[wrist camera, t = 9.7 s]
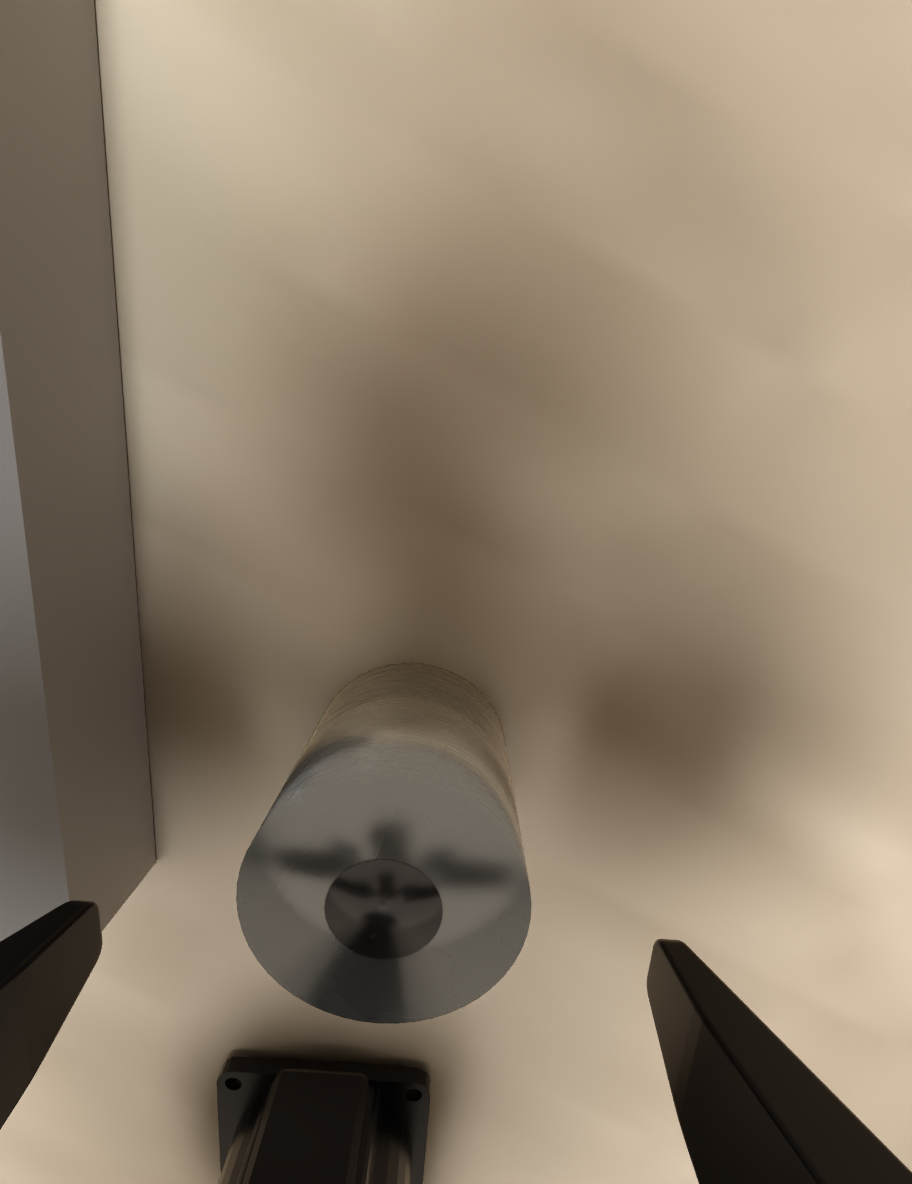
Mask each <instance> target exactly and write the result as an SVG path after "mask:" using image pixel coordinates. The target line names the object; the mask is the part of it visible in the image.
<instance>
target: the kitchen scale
mask: <svg viewBox="0 0 912 1184" xmlns="http://www.w3.org/2000/svg"><path fill="white" fill-rule="evenodd" d="M155 863H156V853H155V839H154V826H153V812H152V798H151V784H150V770H149V756H148V742H147V729H146V715H145V701H144V687H143V673H142V659H141V645H140V632H139V618H138V604H137V590H136V576H135V562H134V549H133V535H132V521H131V507H130V493H129V479H128V465H127V452H126V438H125V424H124V410H123V396H122V382H121V369H120V355H119V341H118V327H117V313H116V299H115V285H114V272H113V258H112V244H111V230H110V216H109V202H108V189H107V175H106V161H105V147H104V133H103V119H102V105H101V92H100V78H99V64H98V50H97V36H96V22H95V9H94V0H0V941H2V940H4V939H5V938H7V937H9V936H10V935H12V934H13V933H15V932H17V931H18V930H20V929H22V928H23V927H25V926H27V925H28V924H30V923H32V922H33V921H35V920H37V919H38V918H40V917H42V916H43V915H45V914H47V913H48V912H50V911H52V910H53V909H55V908H57V907H58V906H60V905H62V904H63V903H65V902H68V901H72V900H78V901H93V902H96V904H97V905H98V906H99V912H100V922H101V932H102V931H103V929H104V928H105V927H106V925H107V924H108V923H109V922H110V920H111V919H112V918H113V917H114V915H115V914H116V913H117V911H118V910H119V909H120V908H121V906H122V905H123V904H124V902H125V901H126V900H127V899H128V897H129V896H130V895H131V894H132V892H133V891H134V890H135V888H136V887H137V886H138V885H139V883H140V882H141V881H142V880H143V878H144V877H145V876H146V874H147V873H148V872H149V871H150V869H151V868H152V867H153V865H154V864H155Z"/></svg>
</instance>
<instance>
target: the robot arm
mask: <svg viewBox="0 0 912 1184" xmlns="http://www.w3.org/2000/svg"><path fill="white" fill-rule="evenodd" d="M101 949H102V932H101V922H100V912H99V906H98V905H97V904H96V902H93V901H78V900H72V901H68V902H65V903H63V904H62V905H60V906H58V907H57V908H55V909H53V910H52V911H50V912H48V913H47V914H45V915H43V916H42V917H40V918H38V919H37V920H35V921H33V922H32V923H30V924H28V925H27V926H25V927H23V928H22V929H20V930H18V931H17V932H15V933H13V934H12V935H10V936H9V937H7V938H5V939H4V940H2V941H0V1129H1V1128H2V1126H3V1125H4V1123H5V1121H6V1120H7V1118H8V1117H9V1115H10V1114H11V1112H12V1111H13V1109H14V1107H15V1106H16V1104H17V1103H18V1101H19V1100H20V1098H21V1096H22V1095H23V1093H24V1092H25V1090H26V1088H27V1087H28V1085H29V1084H30V1082H31V1080H32V1079H33V1077H34V1075H35V1073H36V1072H37V1070H38V1068H39V1066H40V1065H41V1063H42V1061H43V1059H44V1058H45V1056H46V1054H47V1052H48V1050H49V1048H50V1047H51V1045H52V1043H53V1041H54V1039H55V1037H56V1036H57V1034H58V1032H59V1030H60V1028H61V1027H62V1025H63V1023H64V1021H65V1019H66V1017H67V1016H68V1014H69V1012H70V1010H71V1008H72V1006H73V1005H74V1003H75V1001H76V999H77V997H78V995H79V994H80V992H81V990H82V988H83V986H84V984H85V983H86V981H87V979H88V977H89V975H90V973H91V972H92V970H93V968H94V966H95V964H96V962H97V960H98V958H99V955H100V953H101ZM647 991H648V997H649V1002H650V1006H651V1010H652V1014H653V1018H654V1022H655V1026H656V1030H657V1035H658V1039H659V1043H660V1047H661V1051H662V1055H663V1059H664V1064H665V1068H666V1072H667V1076H668V1080H669V1084H670V1088H671V1092H672V1097H673V1101H674V1104H675V1108H676V1112H677V1116H678V1120H679V1123H680V1126H681V1129H682V1133H683V1136H684V1139H685V1142H686V1146H687V1149H688V1152H689V1155H690V1158H691V1161H692V1164H693V1167H694V1170H695V1173H696V1176H697V1179H698V1182H699V1184H912V1172H911V1171H910V1170H909V1169H908V1168H907V1167H906V1166H905V1165H904V1164H903V1163H902V1162H901V1161H900V1160H899V1159H898V1158H897V1157H896V1156H895V1155H894V1154H893V1153H892V1152H891V1151H890V1150H889V1149H888V1148H887V1147H886V1146H885V1145H884V1144H883V1143H882V1142H881V1141H880V1140H879V1139H878V1138H877V1137H876V1136H875V1135H874V1134H873V1133H872V1132H871V1131H870V1130H869V1129H868V1128H867V1127H866V1126H865V1125H864V1124H863V1123H862V1121H861V1120H860V1119H859V1118H858V1117H857V1116H856V1115H855V1114H854V1113H853V1112H852V1111H851V1110H850V1109H849V1108H848V1107H847V1106H846V1105H845V1104H844V1103H843V1102H842V1101H841V1100H840V1099H839V1098H838V1097H837V1096H836V1095H835V1094H834V1093H833V1092H832V1091H831V1090H830V1089H829V1088H828V1087H827V1086H826V1085H825V1084H824V1083H823V1082H822V1081H821V1080H820V1079H819V1078H818V1077H817V1076H816V1075H815V1074H814V1073H813V1072H812V1071H811V1070H810V1069H809V1068H808V1067H807V1066H806V1065H805V1064H804V1063H803V1062H802V1061H801V1060H800V1059H799V1058H798V1057H797V1056H796V1055H795V1054H794V1053H793V1052H792V1051H791V1050H790V1049H789V1048H788V1047H787V1046H786V1045H785V1044H784V1043H783V1042H782V1041H781V1040H780V1039H779V1038H778V1037H777V1036H776V1035H775V1034H774V1033H773V1032H772V1031H771V1030H770V1029H769V1028H768V1027H767V1026H766V1025H765V1024H764V1023H763V1022H762V1021H761V1020H760V1019H759V1018H758V1017H757V1016H756V1015H755V1013H754V1012H753V1011H752V1010H751V1009H750V1008H749V1007H748V1006H747V1005H746V1004H745V1003H744V1002H743V1001H742V1000H741V999H740V998H739V997H738V996H737V995H736V994H735V993H734V992H733V991H732V990H731V989H730V988H729V987H728V986H727V985H726V984H725V983H724V982H723V981H722V980H721V979H720V978H719V977H718V976H717V975H716V974H715V973H714V972H713V971H712V970H711V969H710V968H709V967H708V966H707V965H706V964H705V963H704V962H703V961H702V960H701V959H700V958H699V957H698V956H697V955H696V954H695V953H694V952H693V951H692V950H691V949H690V948H689V947H688V946H687V945H686V944H685V943H683V942H682V941H679V940H668V939H658V940H657V941H656V942H655V943H654V946H653V951H652V956H651V961H650V966H649V971H648V976H647ZM430 1085H431V1080H430V1076H429V1074H428V1073H427V1072H426V1071H424V1070H423V1069H419V1068H412V1067H396V1066H380V1065H364V1064H348V1063H332V1062H316V1061H300V1060H284V1059H268V1058H252V1057H232V1058H230V1059H227V1060H226V1061H225V1063H224V1064H223V1067H222V1069H221V1072H220V1074H219V1077H218V1080H217V1097H218V1120H219V1142H220V1164H221V1175H220V1178H219V1181H218V1184H423V1173H424V1161H425V1149H426V1137H427V1125H428V1114H429V1102H430Z"/></svg>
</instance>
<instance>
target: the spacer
mask: <svg viewBox="0 0 912 1184" xmlns="http://www.w3.org/2000/svg"><path fill="white" fill-rule="evenodd" d="M236 900H237V909H238V917H239V920H240V924H241V928H242V931H243V934H244V936H245V938H246V941H247V943H248V945H249V947H250V949H251V950H252V952H253V954H254V955H255V957H256V958H257V960H258V961H259V963H260V964H261V965H262V966H263V967H264V969H265V970H266V971H267V972H268V974H270V975H271V976H272V977H273V978H274V979H275V980H276V981H277V982H278V983H279V984H280V985H281V986H282V987H284V988H285V989H286V990H288V991H289V992H290V993H292V994H293V995H294V996H296V997H298V998H300V999H301V1000H303V1001H305V1002H306V1003H308V1004H310V1005H312V1006H314V1007H316V1008H319V1009H321V1010H323V1011H325V1012H328V1013H331V1014H334V1015H337V1016H340V1017H344V1018H348V1019H353V1020H357V1021H363V1022H372V1023H407V1022H416V1021H421V1020H426V1019H431V1018H435V1017H438V1016H441V1015H444V1014H447V1013H450V1012H452V1011H455V1010H457V1009H459V1008H461V1007H464V1006H466V1005H467V1004H469V1003H471V1002H472V1001H474V1000H476V999H477V998H479V997H480V996H482V995H483V994H484V993H486V992H487V991H488V990H490V989H491V988H492V987H493V986H494V985H495V984H496V983H497V982H498V981H499V980H500V979H501V978H502V977H503V976H504V975H505V974H506V973H507V971H508V970H509V969H510V967H511V966H512V965H513V963H514V962H515V960H516V958H517V956H518V955H519V953H520V951H521V949H522V947H523V944H524V941H525V939H526V936H527V933H528V928H529V923H530V918H531V896H530V886H529V881H528V875H527V869H526V863H525V857H524V851H523V846H522V840H521V834H520V828H519V822H518V817H517V811H516V805H515V799H514V793H513V788H512V782H511V776H510V770H509V764H508V758H507V753H506V747H505V741H504V735H503V732H502V728H501V724H500V722H499V719H498V717H497V715H496V713H495V711H494V710H493V708H492V706H491V704H490V703H489V702H488V701H487V699H486V698H485V697H484V696H483V694H481V693H480V692H479V691H478V690H477V689H476V688H475V687H474V686H473V685H471V684H470V683H469V682H467V681H466V680H465V679H463V678H461V677H459V676H458V675H456V674H454V673H452V672H449V671H447V670H444V669H442V668H438V667H434V666H430V665H424V664H414V663H403V664H394V665H388V666H384V667H380V668H377V669H374V670H372V671H369V672H367V673H365V674H363V675H361V676H359V677H358V678H356V679H355V680H353V681H352V682H350V683H349V684H348V685H346V686H345V687H344V688H343V689H342V690H341V691H340V692H339V693H338V694H337V696H336V697H335V698H334V699H333V701H332V702H331V703H330V705H329V707H328V709H327V710H326V712H325V714H324V716H323V717H322V719H321V721H320V723H319V724H318V726H317V728H316V730H315V732H314V733H313V735H312V737H311V739H310V740H309V742H308V744H307V746H306V747H305V749H304V751H303V753H302V755H301V756H300V758H299V760H298V762H297V763H296V765H295V767H294V769H293V770H292V772H291V774H290V776H289V778H288V779H287V781H286V783H285V785H284V786H283V788H282V790H281V792H280V793H279V795H278V797H277V799H276V801H275V802H274V804H273V806H272V808H271V809H270V811H269V813H268V815H267V816H266V818H265V820H264V822H263V824H262V825H261V827H260V829H259V831H258V832H257V834H256V836H255V838H254V839H253V841H252V843H251V845H250V847H249V848H248V850H247V852H246V854H245V857H244V860H243V862H242V865H241V868H240V872H239V877H238V882H237V898H236Z"/></svg>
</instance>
